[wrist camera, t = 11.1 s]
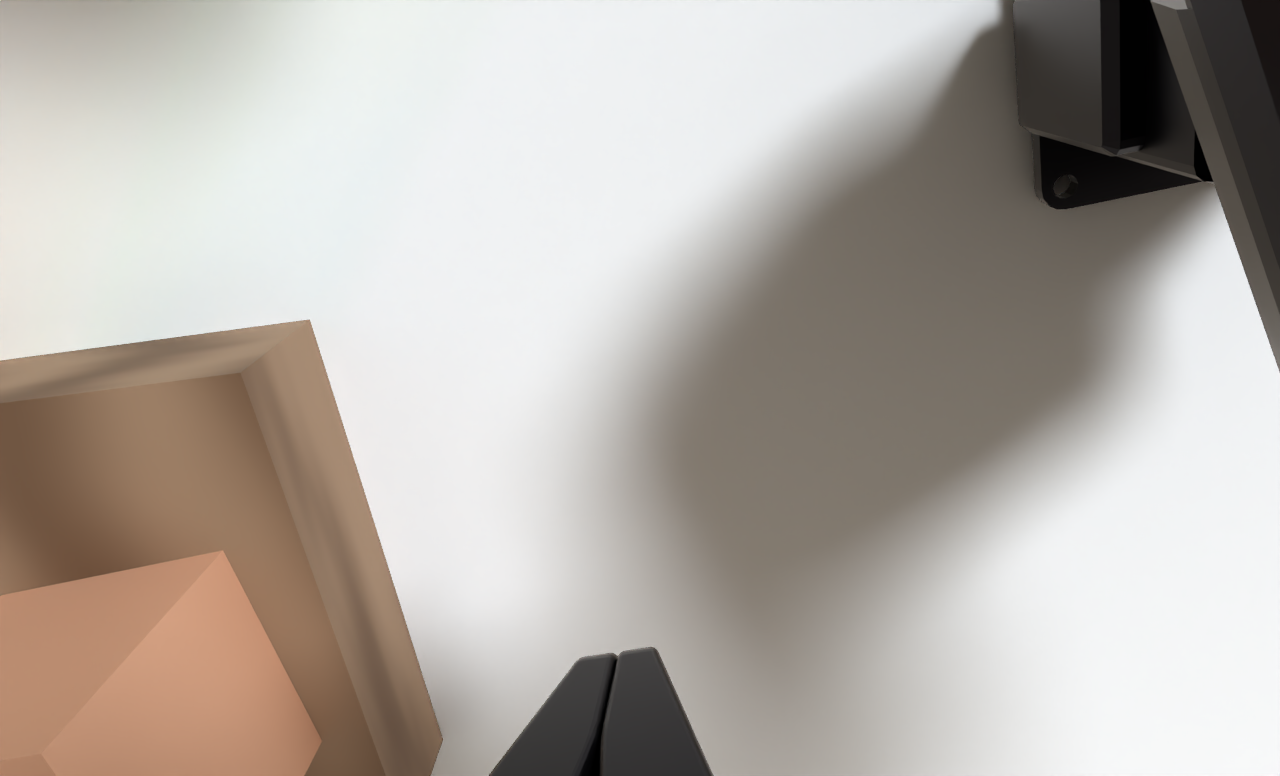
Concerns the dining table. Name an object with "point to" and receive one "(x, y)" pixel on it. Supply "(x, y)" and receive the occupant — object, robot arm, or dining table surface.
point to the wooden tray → (222, 512)
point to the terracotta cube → (146, 679)
